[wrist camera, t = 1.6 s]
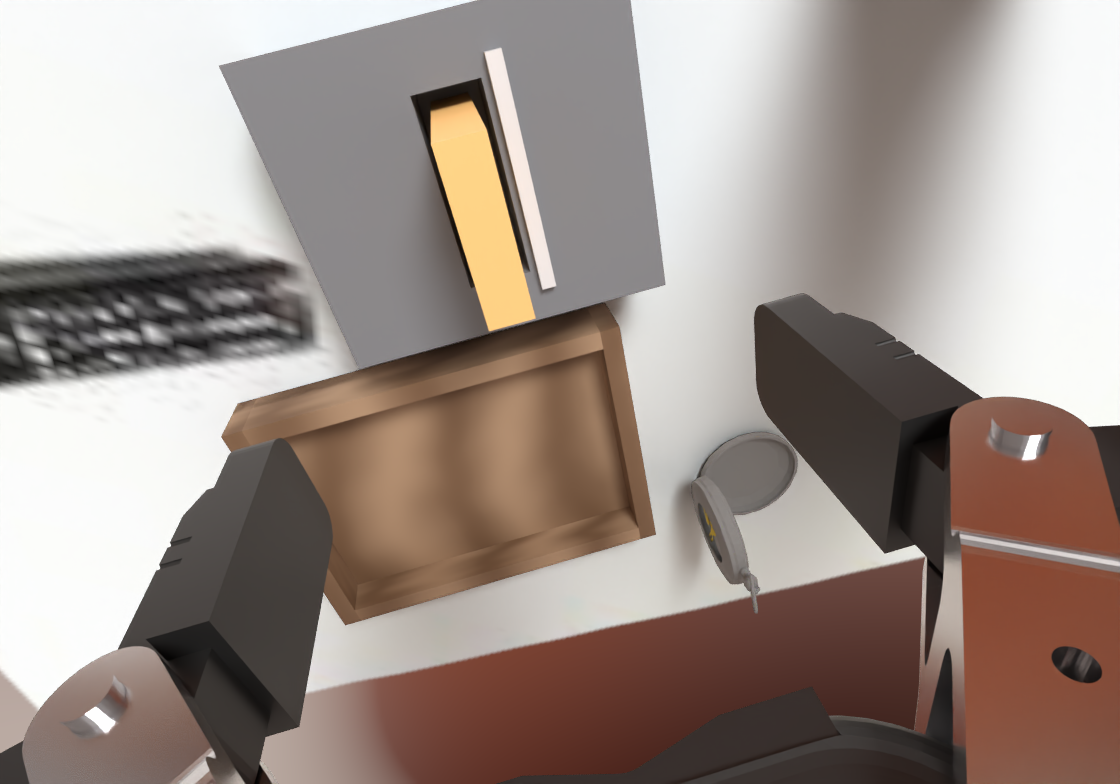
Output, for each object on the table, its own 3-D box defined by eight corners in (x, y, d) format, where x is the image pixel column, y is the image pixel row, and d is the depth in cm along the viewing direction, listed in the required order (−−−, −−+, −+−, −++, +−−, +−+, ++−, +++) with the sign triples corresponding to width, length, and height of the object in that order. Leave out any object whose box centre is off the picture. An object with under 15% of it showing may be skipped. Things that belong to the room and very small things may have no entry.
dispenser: (592, -29, 25) (629, -38, 20) (634, 249, 31) (668, 288, 27) (255, 57, 24) (215, 67, 20) (368, 321, 31) (358, 373, 26)
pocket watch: (808, 456, 41) (904, 568, 33) (719, 535, 44) (787, 657, 36) (735, 398, 38) (822, 507, 29) (641, 487, 40) (697, 611, 32)
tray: (604, 302, 33) (619, 326, 30) (641, 502, 41) (655, 534, 38) (237, 403, 32) (221, 437, 29) (350, 586, 40) (345, 625, 38)
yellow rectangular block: (468, 92, 25) (486, 129, 17) (504, 230, 29) (535, 318, 20) (430, 102, 25) (430, 144, 17) (471, 239, 29) (489, 331, 20)
